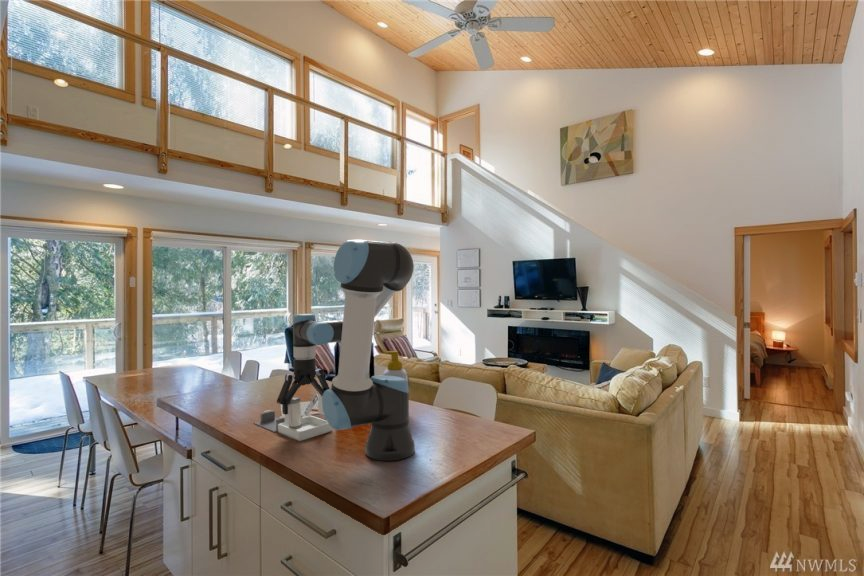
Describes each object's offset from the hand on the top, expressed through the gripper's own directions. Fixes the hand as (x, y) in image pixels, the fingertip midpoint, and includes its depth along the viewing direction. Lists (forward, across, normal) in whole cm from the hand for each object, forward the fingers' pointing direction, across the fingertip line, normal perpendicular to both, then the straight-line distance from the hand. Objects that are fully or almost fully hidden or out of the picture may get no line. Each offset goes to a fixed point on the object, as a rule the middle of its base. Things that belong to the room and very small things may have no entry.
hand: (305, 418), depth 151 cm
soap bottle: (+5, -34, +10) cm, 36 cm away
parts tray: (+5, 0, 0) cm, 5 cm away
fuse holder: (+5, +3, -14) cm, 16 cm away
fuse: (+2, +4, 0) cm, 4 cm away
